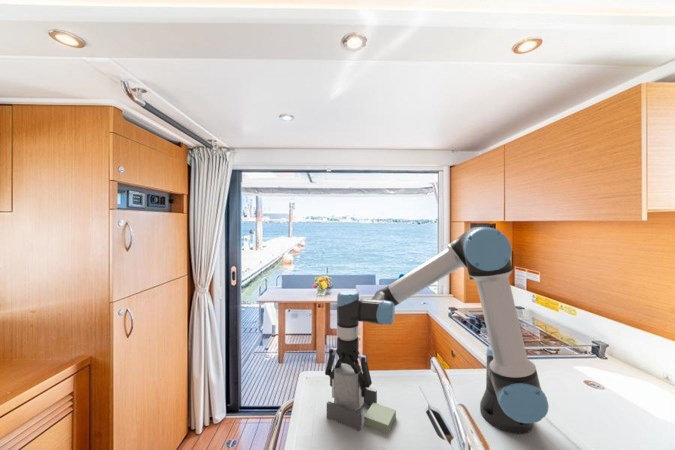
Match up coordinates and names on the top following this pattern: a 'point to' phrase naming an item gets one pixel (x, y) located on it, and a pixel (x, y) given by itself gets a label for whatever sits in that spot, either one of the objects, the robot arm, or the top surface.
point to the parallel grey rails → (350, 411)
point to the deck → (380, 417)
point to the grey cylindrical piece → (346, 387)
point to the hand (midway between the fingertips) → (347, 400)
